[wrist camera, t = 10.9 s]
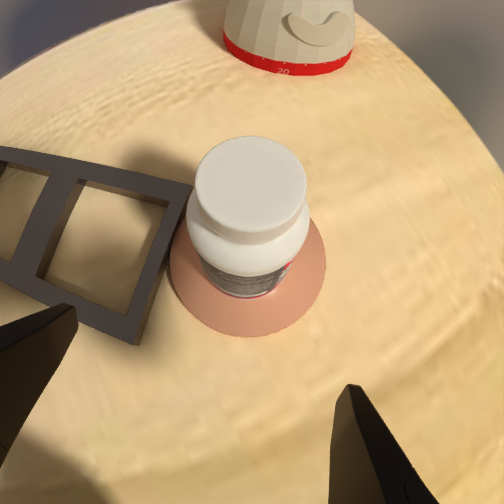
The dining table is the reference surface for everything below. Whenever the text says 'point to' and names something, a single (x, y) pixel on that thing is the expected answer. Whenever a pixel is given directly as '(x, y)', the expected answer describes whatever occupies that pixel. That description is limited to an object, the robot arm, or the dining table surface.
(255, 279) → the pill bottle
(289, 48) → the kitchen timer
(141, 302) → the dark grey flat frame
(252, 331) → the coaster
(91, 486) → the dining table surface
